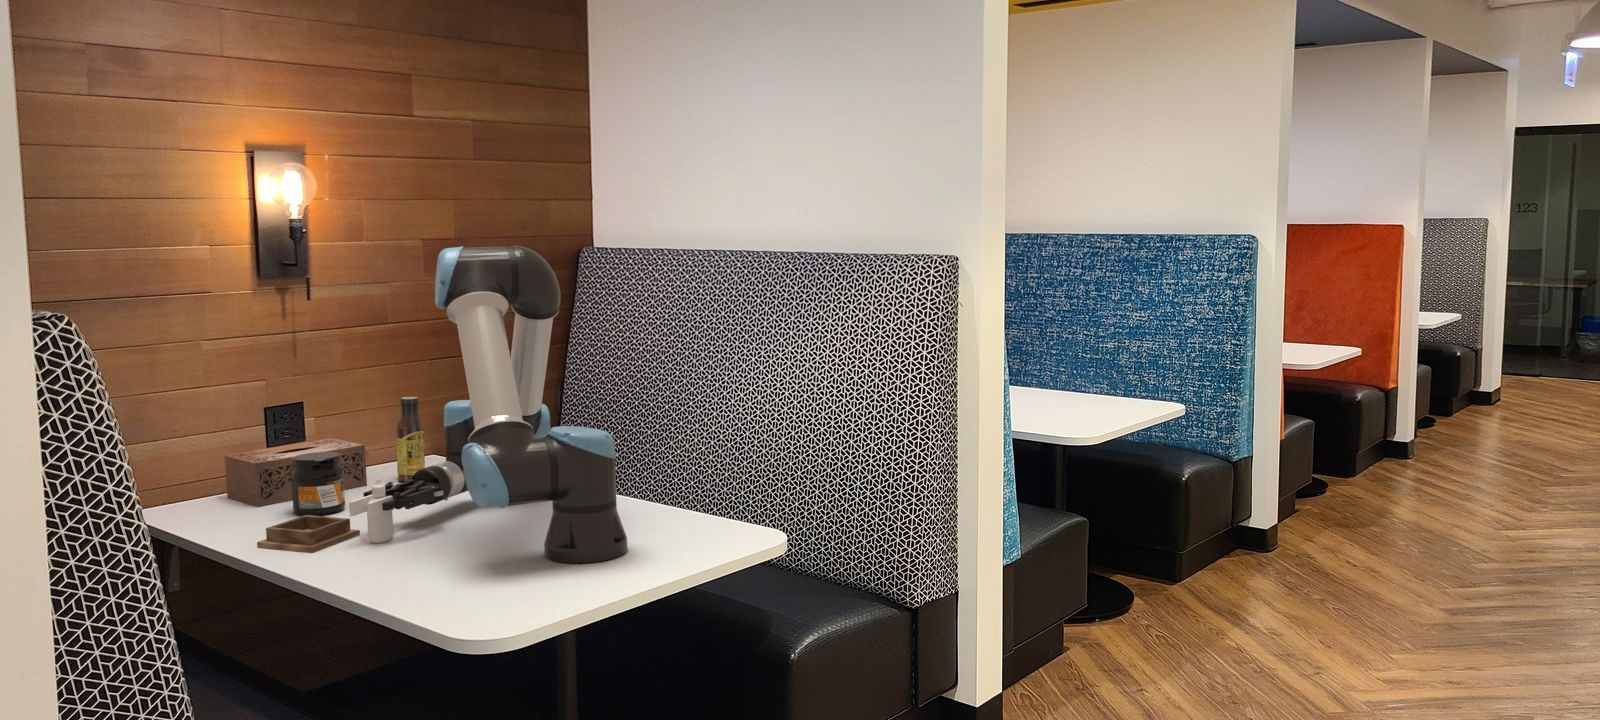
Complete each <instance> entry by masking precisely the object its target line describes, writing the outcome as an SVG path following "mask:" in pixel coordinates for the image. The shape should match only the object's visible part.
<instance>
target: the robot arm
mask: <svg viewBox="0 0 1600 720" xmlns="http://www.w3.org/2000/svg"><path fill="white" fill-rule="evenodd" d="M436 262H437V263H436V269H435V271H436V272H435V280H434V281H435V282H434V283H435V285H434V289H435V290H434V302H435V307H437V309H441V310H446V311H445V312H446V315H447V318H448V319H449V320H450V321H451V322H452V323H454V324H456V326H457V332H458V339H459V343H460V348H461V349H460V350H461V355H462V361H463V366H464V372H465V378H466V385H467V390H468V395H469V396H468V397H469V399H458V400H452V401H448V402H447V403H446V404H445V405H444V407H443V428H444V429H443V430H444V444H445V446H444V447H445V460H444V461H442V462H438V463H435V464H432V465H430V466H427V467H425V468H424V469H421V470H418V471H417V472H416V473H415V474H414V475H413V477H412V479H411V480H407V481H405V482H401V483H396V484H395V483H394V482H393V481H389V482H386V483H385V484H384V485H385V494H386V495H385V498H382V499H379V500H376V501H373V502H370V503H368V502H369V501H370V500H371V499H372V498H373V497H372V489H369V490H367V491H365V492H363V497H360V498H356V499H353V500H351V501H349V502H348V505H349V506H348V507H349V508H348V509H349V517H354V516H358V515H361V514H364V513H365V512H366V513H367V512H368V518H372V517H375V516H378V515H380V514H383V513H386V512H389V511H391V510H392V511H394V510H401V509H402V508H404V509H405V510H410V509H413V508H416V507H420V506H421V505H422V506H423V505H425V506H426V505H428V506H431V505H434V504H437V503H439V502H440V503H441V502H442V501H444V502H446V501H449V498H453V497H455V496H458V495H459V494H462V493H463V494H464V493H466V492H468V493H469V495H470V497H471V499H472V501H473V502H474V503H475V504H476V506H478V507H480V508H484V509H485V508H501V509H503V508H506V507H513V506H519V505H521V506H522V505H528V504H535V503H543V502H552V515H551V517H550V522H549V525H548V529H547V532H546V535H545V540H544V543H543V545H544V546H543V547H544V556H545V558H547V559H549V560H551V561H554V562H560V563H568V564H587V563H597V562H604V561H608V560H612V559H615V558H618V557H620V556H623V555H624V554H626V553H627V551H628V537H627V534H626V531H625V528H624V526H623V524H622V521H621V517H620V514H619V512H618V508H617V482H616V481H617V475H616V474H617V473H616V459H617V455H616V449H615V448H616V447H615V440H614V437H613V436H612V434H611V433H609V432H608V431H605V430H602V429H599V428H595V427H594V428H592V427H586V426H585V427H584V426H572V425H569V426H568V425H567V426H566V425H562V426H560V425H559V426H553V427H551V415H550V409H549V408H548V406H547V405H546V404H544V403H543V396H544V387H545V382H546V374H547V373H546V372H547V367H548V359H549V352H550V345H551V336H552V329H553V321H554V318H555V317H556V316H557V315H558V314H559V312H560V307H561V289H560V285H559V280H558V279H557V275H556V274H555V272H554V270H553V268H552V267H551V265H550V264H549V263H548V261H547V260H546V259H545V258H544V257H543V256H541V255H540V254H539V253H537V252H536V251H534V250H533V249H530V248H528V247H525V246H520V245H510V246H509V245H507V246H505V245H504V246H503V245H502V246H480V247H479V246H476V247H475V246H474V247H472V246H471V247H465V246H463V245H462V246H457V247H447V248H443V249H442V250H441V251H440V252H439V253H438V256H437V261H436ZM510 306H511V309H512V311H513V312H514V313H515V316H514V323H513V332H512V333H513V334H512V342H511V351H510V348H509V342H508V337H507V331H506V327H505V321H504V316H505V315H506V314H507V312H508V311H509V307H510Z"/></svg>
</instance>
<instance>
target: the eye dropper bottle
mask: <svg viewBox="0 0 1600 720" xmlns="http://www.w3.org/2000/svg"><path fill="white" fill-rule="evenodd" d="M371 490H372V497H373V498H372V499H371V500H370V501H369V502H368V503H370V502H373V501H376V500H379V499H382V498H385V495H386V494H385V484H383V483H382V482H381V479H380V478H376V479H375V483H374V484H373V485H372V486H371ZM366 517H367V519H366V520H367V536H368V542H369V543H371V544H381V543H384V542H388V541H389V540H391V539H392V538H393V537H394V522H393V521H394V520H393V519H394V517H393V510H391V511H389V512H386V513H383V514H380V515H378V516H375V517H372V518H368V512H366Z"/></svg>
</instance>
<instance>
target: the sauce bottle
mask: <svg viewBox="0 0 1600 720" xmlns="http://www.w3.org/2000/svg"><path fill="white" fill-rule="evenodd" d="M419 401H420V400H419V397H417V396H404V397H400V404H401V405H400V406H401V413H400V414H401V418H400V420H399V421H398V423H397V425H396V426H397V427H396V466H397V471H396V472H397V479H398V481H399V482H401V483H404V482H405V481H407V480H411V479H412V477H413V475H414V474H415V473H416V472H417V471H418V470H421V469H424V468H426V467H425V466H426V464H425V463H426V461H425V459H426V458H425V431H424V428H423V425H422V423H421V420H420V417H419Z"/></svg>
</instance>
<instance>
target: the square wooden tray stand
mask: <svg viewBox="0 0 1600 720" xmlns="http://www.w3.org/2000/svg"><path fill="white" fill-rule="evenodd" d="M265 535H266V539H262V540H260V541H257V542H256V548H260V549H261V548H262V549H270V550H271V549H272V550H280V551H281V550H282V551H289V552H299V553H300V552H301V553H309V554H313V553H317V552H319V551H321V550H325V549H326V548H329V547H332V546H335V545H338V544H341V543H342V542H345V541H348V540H350V539H353V538H357V537H358V536H360V535H361V532H360V529H351V518H345V517H336V516H335V517H334V516H325V515H321V516H313V515H304V516H302V515H300V516H299V517H296V518H293V519H289V520H287V521H284V522H281V523H277V524H274V525H272V526H268V527H266V528H265Z"/></svg>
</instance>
